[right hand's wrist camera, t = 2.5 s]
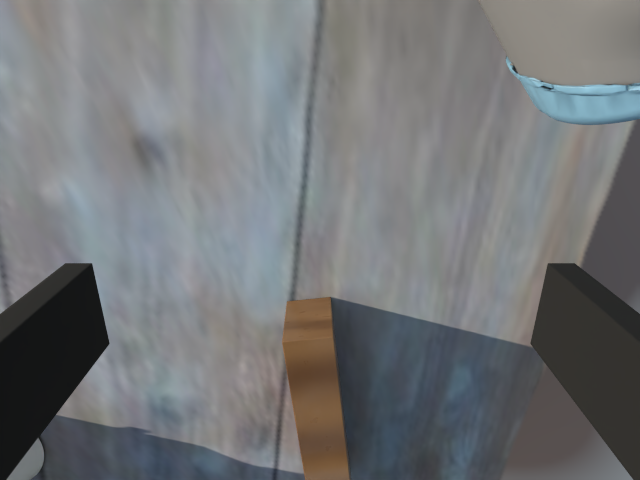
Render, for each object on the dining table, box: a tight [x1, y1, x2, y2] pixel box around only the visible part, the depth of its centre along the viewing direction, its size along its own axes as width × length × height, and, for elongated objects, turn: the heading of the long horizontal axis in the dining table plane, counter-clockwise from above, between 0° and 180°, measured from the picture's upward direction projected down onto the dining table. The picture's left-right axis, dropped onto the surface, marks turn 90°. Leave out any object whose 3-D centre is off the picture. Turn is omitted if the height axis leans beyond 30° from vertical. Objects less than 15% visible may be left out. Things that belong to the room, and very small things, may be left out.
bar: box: [282, 297, 351, 480], centre depth 52 cm, size 28×5×8 cm, turn 6°
